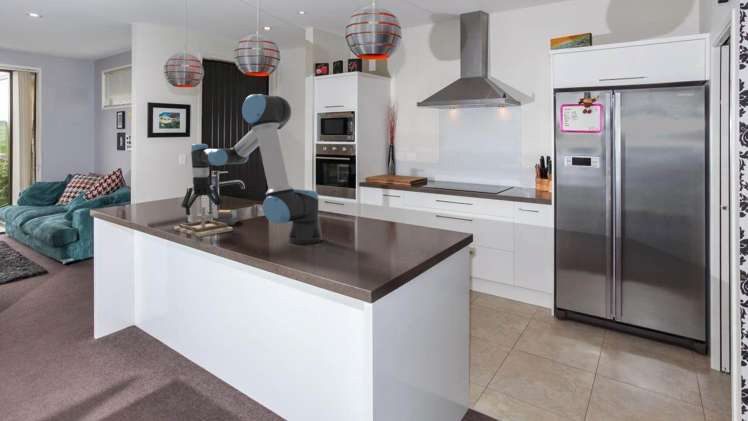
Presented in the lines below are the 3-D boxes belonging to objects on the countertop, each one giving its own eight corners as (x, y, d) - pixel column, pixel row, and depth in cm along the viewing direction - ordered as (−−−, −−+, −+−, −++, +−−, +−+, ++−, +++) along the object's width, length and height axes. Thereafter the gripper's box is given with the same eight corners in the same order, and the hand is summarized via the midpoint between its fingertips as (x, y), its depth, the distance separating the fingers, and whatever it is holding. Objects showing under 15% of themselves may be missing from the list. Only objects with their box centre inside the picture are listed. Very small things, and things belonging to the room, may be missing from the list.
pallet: (232, 230, 219) (232, 224, 218) (199, 236, 205) (198, 230, 204) (207, 224, 232) (207, 218, 231) (174, 229, 218) (174, 223, 217)
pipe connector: (209, 224, 225) (209, 205, 224) (217, 227, 217) (217, 207, 216) (189, 226, 218) (189, 206, 217) (196, 229, 211) (196, 208, 210)
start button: (229, 217, 233) (229, 211, 233) (217, 217, 233) (217, 211, 232) (232, 215, 239) (231, 210, 239) (220, 215, 239) (220, 209, 238)
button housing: (233, 224, 232) (233, 213, 231) (211, 224, 231) (211, 213, 230) (238, 220, 242) (237, 210, 241) (217, 220, 241) (216, 209, 240)
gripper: (180, 178, 202) (182, 224, 205) (228, 175, 221) (229, 217, 225) (171, 177, 206) (174, 222, 210) (219, 174, 226) (221, 215, 229)
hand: (203, 219), depth 217 cm, fingers open, 13 cm apart
